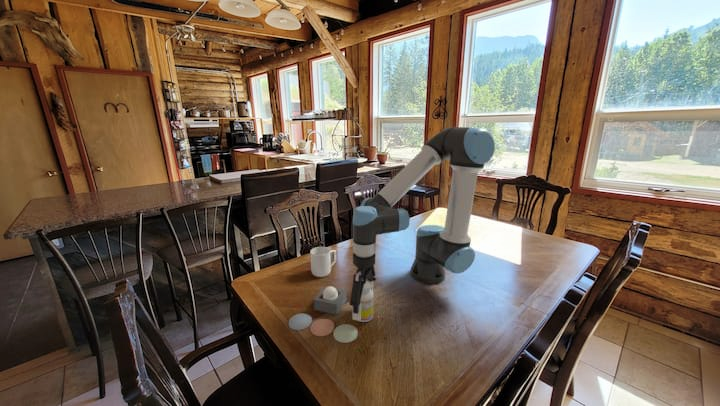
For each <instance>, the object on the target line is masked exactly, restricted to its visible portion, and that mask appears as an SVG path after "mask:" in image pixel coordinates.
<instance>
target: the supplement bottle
mask: <svg viewBox="0 0 720 406" xmlns="http://www.w3.org/2000/svg"><path fill="white" fill-rule="evenodd" d="M374 295H375V293H374V290H373V291H372V290H371V284H370V283H368V282H366V283H365V284H364V287H363V291H362V296H361V301H360V303H361V321H360V322H362V323H366V322H370V321H371V320H373V318H374V303H375V302H374V300H375V299H374V298H375V296H374Z"/></svg>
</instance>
